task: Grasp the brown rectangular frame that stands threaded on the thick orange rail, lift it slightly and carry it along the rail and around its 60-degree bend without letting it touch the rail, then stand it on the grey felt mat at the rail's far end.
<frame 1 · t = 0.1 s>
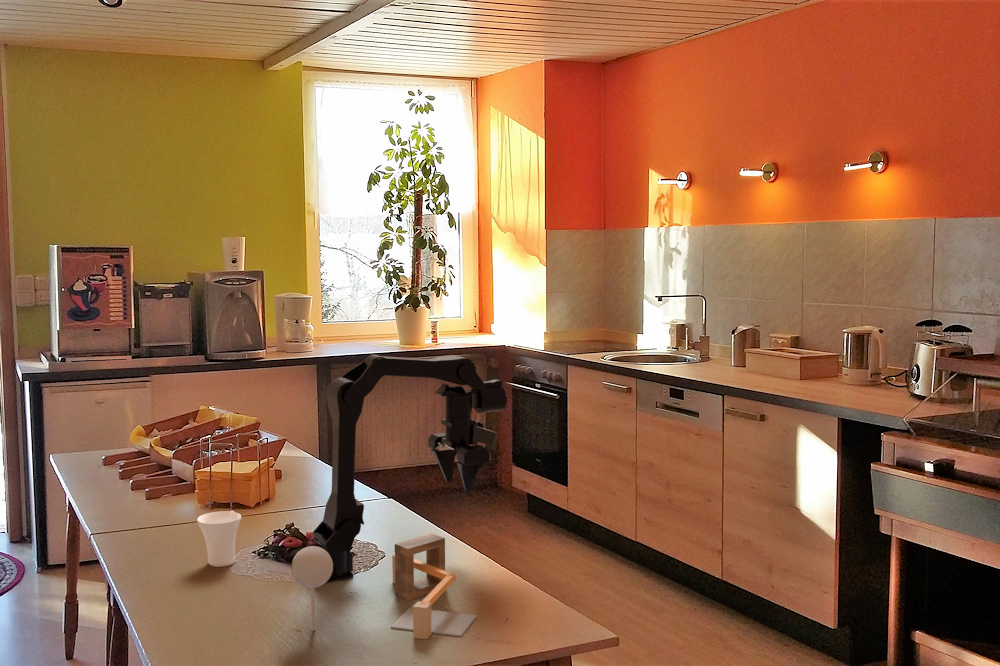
hand: (458, 487, 211), 15 cm above the table, fingers open, 9 cm apart
brown rectangular frame: (420, 591, 191), on the table
rail: (333, 575, 200), on the table
lollipop: (313, 631, 173), on the table
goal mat: (434, 622, 176), on the table
cup: (221, 562, 208), on the table
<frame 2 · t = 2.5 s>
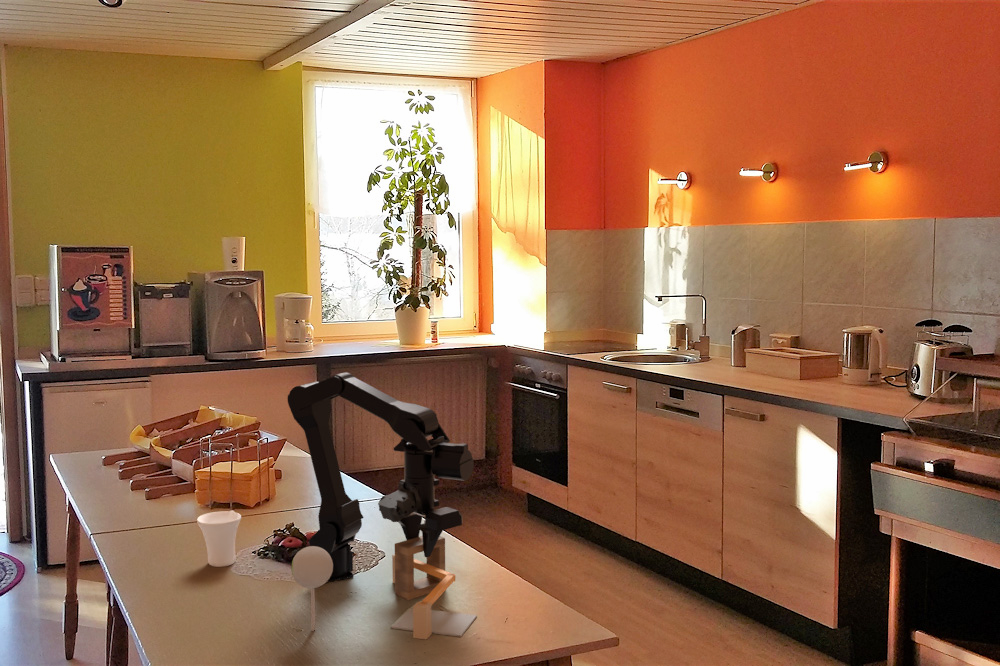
hand: (420, 554, 191), 7 cm above the table, fingers closed on brown rectangular frame, 4 cm apart
brown rectangular frame: (420, 590, 191), on the table, touching gripper
everything else where it was.
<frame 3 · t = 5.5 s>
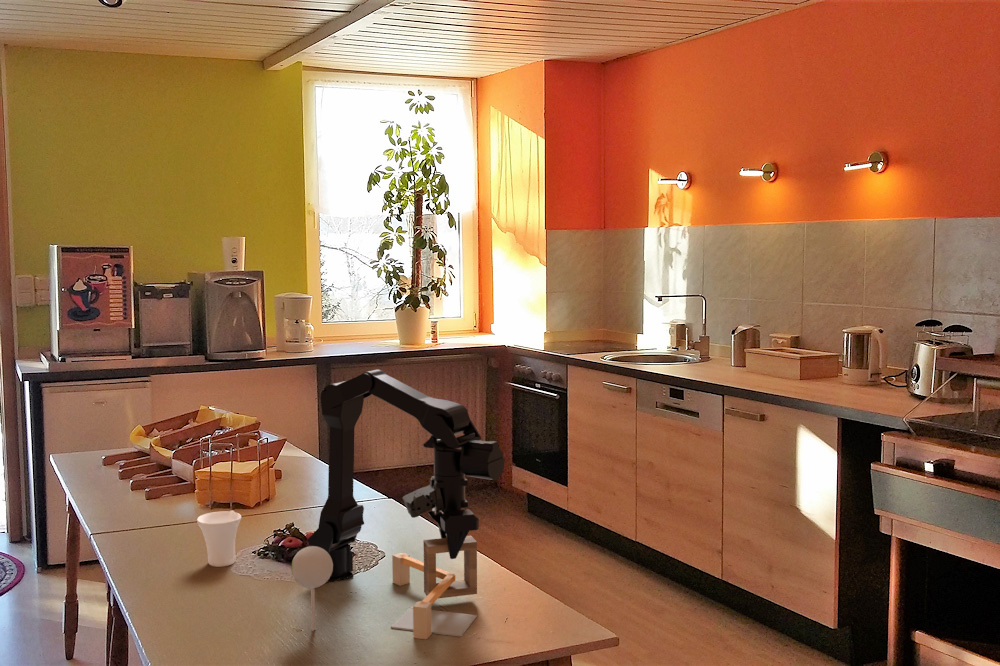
hand: (450, 554, 184), 9 cm above the table, fingers closed on brown rectangular frame, 4 cm apart
brown rectangular frame: (450, 592, 185), point 2 cm above the table, touching gripper
everything else where it was.
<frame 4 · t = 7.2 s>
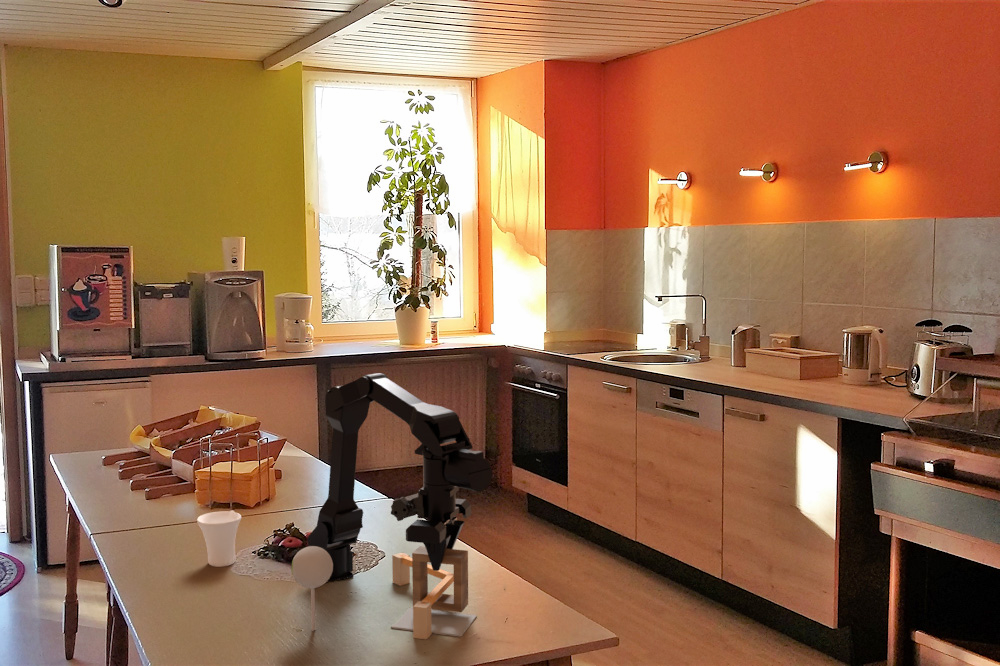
hand: (440, 566, 178), 9 cm above the table, fingers closed on brown rectangular frame, 4 cm apart
brown rectangular frame: (440, 605, 179), point 2 cm above the table, touching gripper
everything else where it was.
when the fingers open (8 cm above the table, at t = 8.6 s): brown rectangular frame stays where it is, resting on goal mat.
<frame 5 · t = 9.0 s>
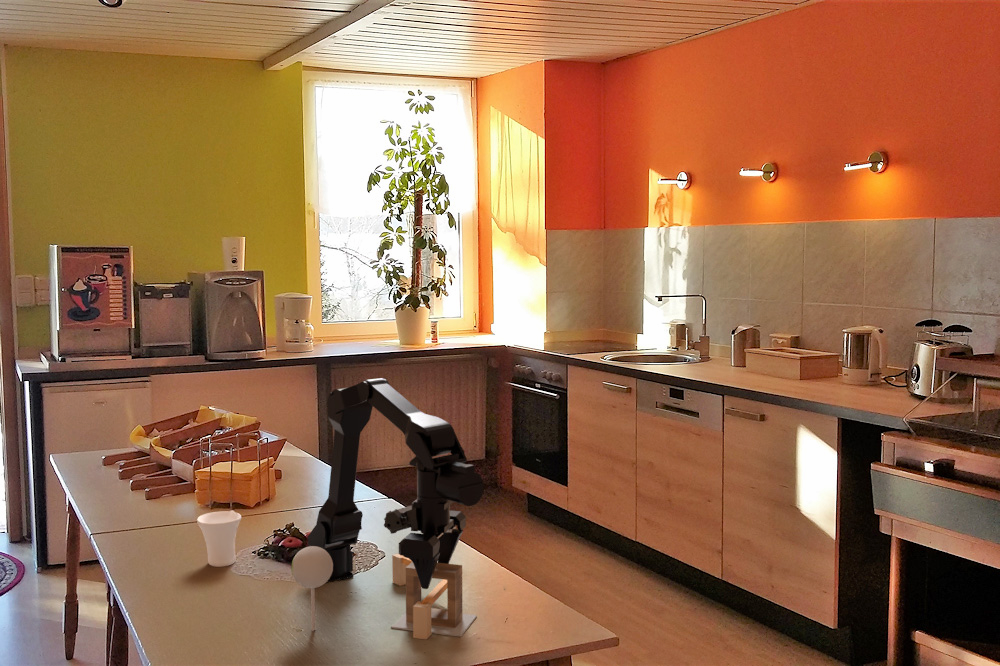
hand: (434, 579, 175), 8 cm above the table, fingers open, 9 cm apart
brown rectangular frame: (434, 620, 176), resting on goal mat
everything else where it was.
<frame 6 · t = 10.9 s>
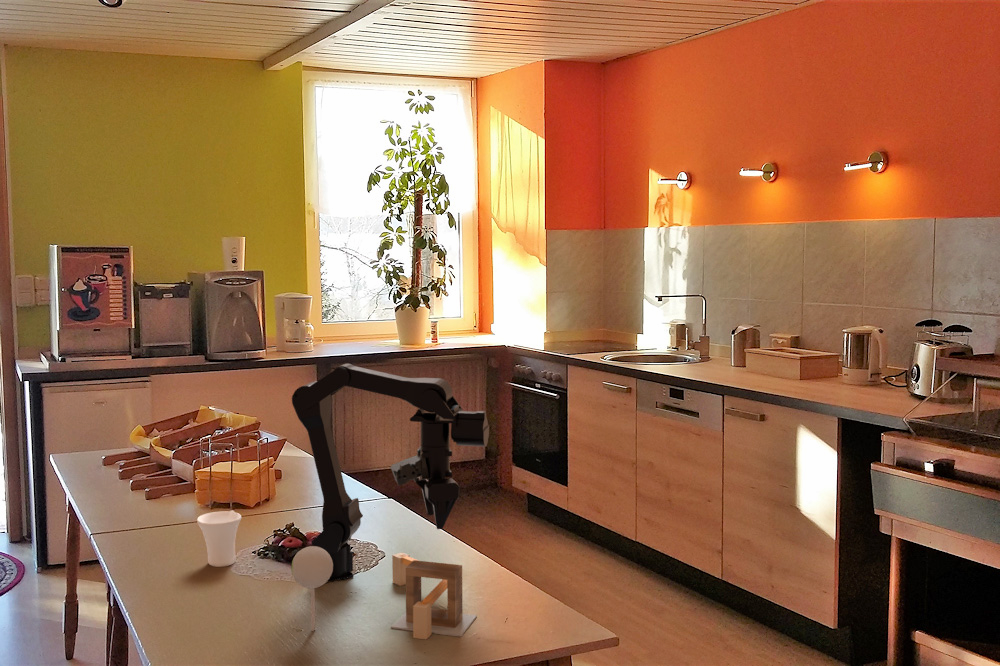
hand: (434, 521, 195), 12 cm above the table, fingers open, 9 cm apart
nothing on the table moved.
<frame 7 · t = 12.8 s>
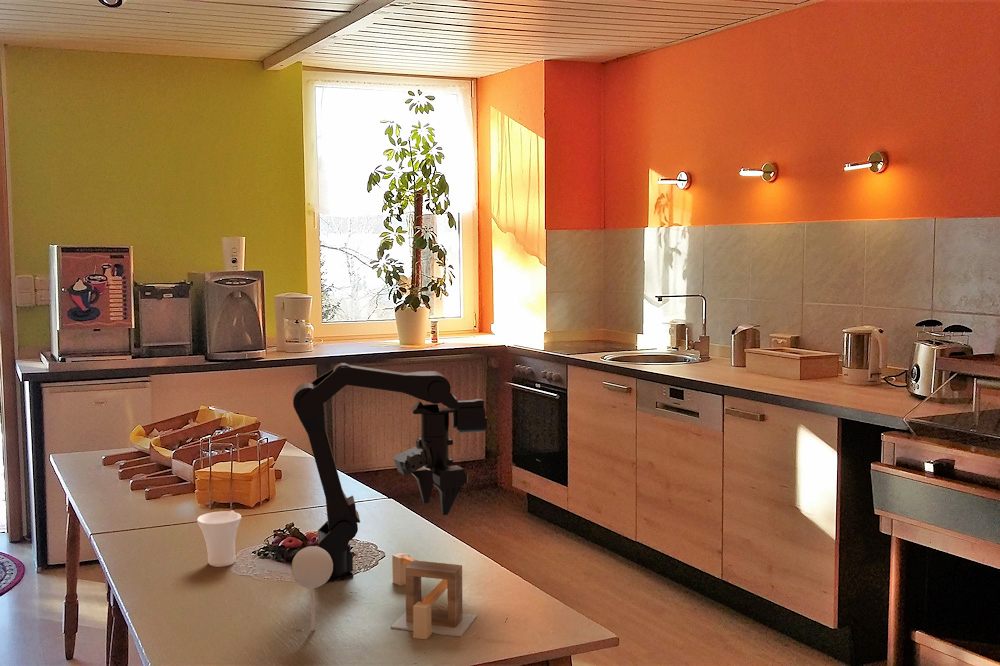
hand: (435, 509, 202), 12 cm above the table, fingers open, 9 cm apart
nothing on the table moved.
at the end: brown rectangular frame inside the target area on the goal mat (0.0 cm from its centre), point 0.3 cm above the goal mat's base; brown rectangular frame touching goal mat; brown rectangular frame tilted 0° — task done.
